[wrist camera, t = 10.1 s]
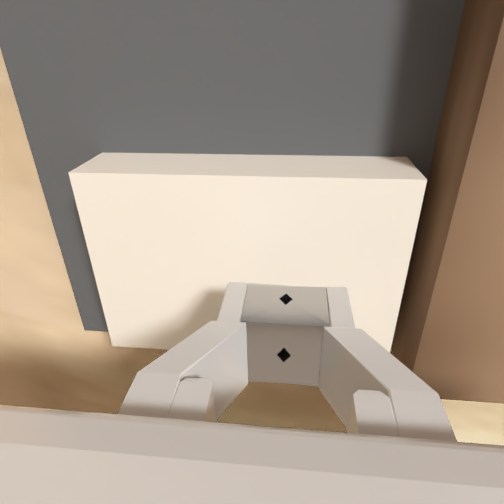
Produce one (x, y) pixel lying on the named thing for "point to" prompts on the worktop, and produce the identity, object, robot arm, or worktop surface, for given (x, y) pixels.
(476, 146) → the brown wooden flat board
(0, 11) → the mat
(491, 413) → the worktop surface
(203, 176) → the ivory block
